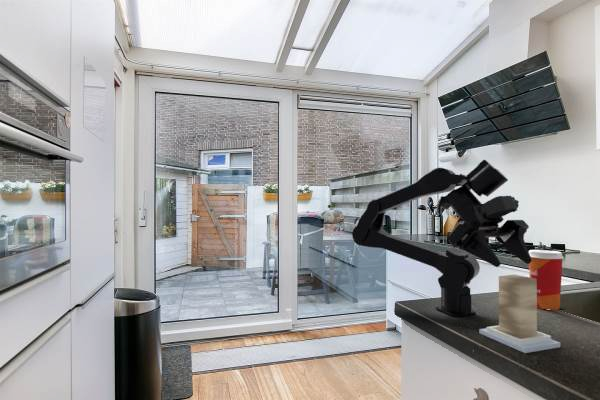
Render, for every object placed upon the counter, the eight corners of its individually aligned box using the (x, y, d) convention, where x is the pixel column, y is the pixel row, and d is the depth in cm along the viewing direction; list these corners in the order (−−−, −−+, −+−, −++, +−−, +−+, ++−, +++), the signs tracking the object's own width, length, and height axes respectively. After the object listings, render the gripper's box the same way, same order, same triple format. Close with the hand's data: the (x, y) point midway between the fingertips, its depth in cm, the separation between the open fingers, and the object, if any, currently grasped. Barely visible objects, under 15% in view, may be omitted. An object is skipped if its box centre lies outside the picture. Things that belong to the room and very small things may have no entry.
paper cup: (529, 301, 93) (528, 248, 94) (565, 306, 89) (564, 251, 89) (525, 308, 87) (524, 251, 88) (563, 314, 83) (563, 254, 83)
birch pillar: (499, 333, 68) (498, 276, 68) (514, 330, 70) (514, 274, 70) (521, 341, 64) (520, 280, 64) (537, 337, 66) (536, 278, 66)
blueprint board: (479, 333, 70) (479, 325, 70) (511, 328, 73) (511, 320, 73) (525, 353, 61) (524, 343, 61) (560, 347, 63) (560, 338, 63)
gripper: (458, 182, 73) (509, 240, 63) (519, 184, 80) (573, 236, 70) (431, 219, 80) (472, 276, 70) (489, 217, 88) (534, 269, 77)
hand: (514, 264), depth 72 cm, fingers open, 9 cm apart
